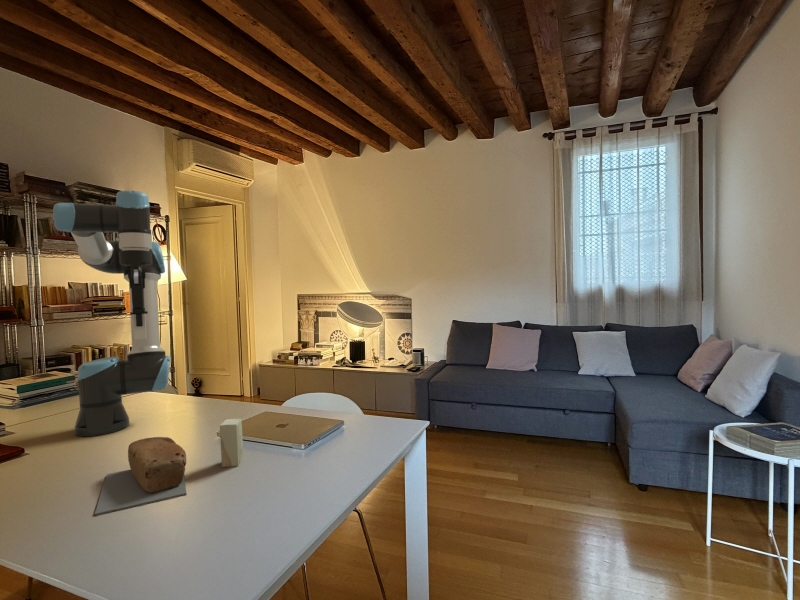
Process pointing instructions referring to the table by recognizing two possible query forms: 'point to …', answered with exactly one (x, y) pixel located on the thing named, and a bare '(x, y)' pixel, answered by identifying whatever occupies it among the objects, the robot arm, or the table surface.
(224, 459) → the box
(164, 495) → the mat
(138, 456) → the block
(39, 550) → the table surface
